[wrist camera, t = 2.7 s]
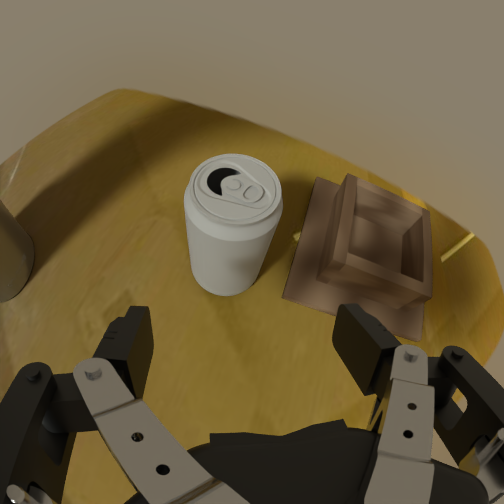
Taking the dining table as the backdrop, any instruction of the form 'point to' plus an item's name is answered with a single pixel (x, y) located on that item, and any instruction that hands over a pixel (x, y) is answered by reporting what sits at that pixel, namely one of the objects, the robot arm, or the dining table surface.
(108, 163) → the dining table surface
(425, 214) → the well
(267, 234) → the beverage can
